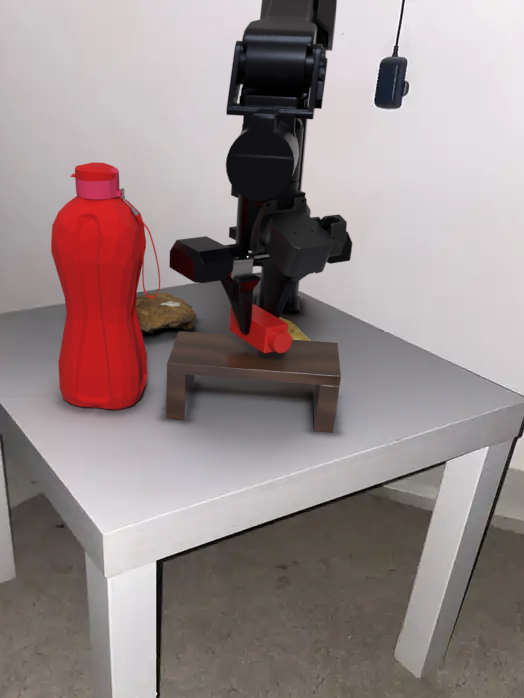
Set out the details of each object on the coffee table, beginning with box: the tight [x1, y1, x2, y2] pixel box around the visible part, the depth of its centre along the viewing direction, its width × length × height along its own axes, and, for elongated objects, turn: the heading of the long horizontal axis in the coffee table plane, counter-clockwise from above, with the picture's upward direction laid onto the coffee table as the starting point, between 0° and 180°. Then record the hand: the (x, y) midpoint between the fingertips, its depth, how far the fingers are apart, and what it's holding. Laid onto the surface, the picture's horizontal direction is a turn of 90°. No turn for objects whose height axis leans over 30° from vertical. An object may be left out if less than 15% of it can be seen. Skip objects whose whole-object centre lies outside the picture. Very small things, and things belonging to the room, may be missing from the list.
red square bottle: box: [228, 303, 292, 353], centre depth 82 cm, size 8×3×3 cm, turn 29°
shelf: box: [165, 331, 342, 433], centre depth 85 cm, size 9×18×7 cm, turn 83°
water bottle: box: [50, 162, 161, 411], centre depth 82 cm, size 9×11×25 cm
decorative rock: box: [136, 292, 198, 335], centre depth 105 cm, size 11×4×15 cm
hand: (257, 331), depth 82 cm, fingers closed on red square bottle, 3 cm apart
